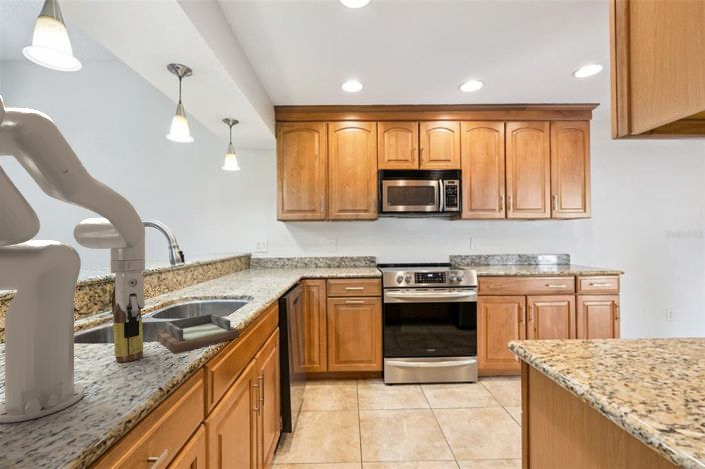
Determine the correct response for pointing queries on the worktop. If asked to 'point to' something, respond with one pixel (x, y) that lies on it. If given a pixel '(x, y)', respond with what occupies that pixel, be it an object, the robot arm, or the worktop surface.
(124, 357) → the sauce bottle
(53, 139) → the robot arm
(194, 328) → the dock
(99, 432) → the worktop surface
